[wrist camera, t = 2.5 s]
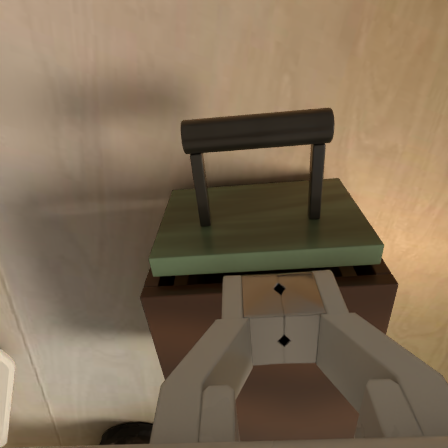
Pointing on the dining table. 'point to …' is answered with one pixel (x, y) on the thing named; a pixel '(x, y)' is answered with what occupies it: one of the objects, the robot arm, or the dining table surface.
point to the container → (127, 434)
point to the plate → (5, 393)
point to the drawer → (261, 208)
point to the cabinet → (274, 373)
